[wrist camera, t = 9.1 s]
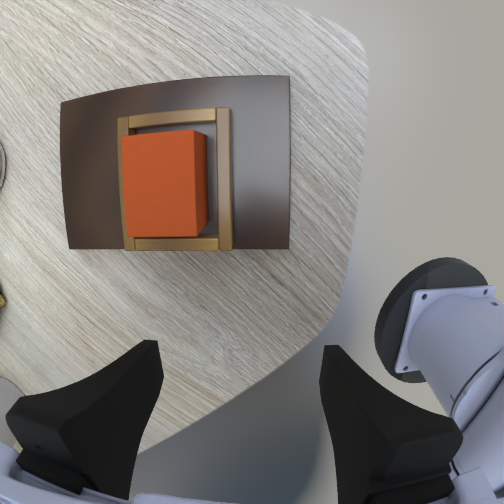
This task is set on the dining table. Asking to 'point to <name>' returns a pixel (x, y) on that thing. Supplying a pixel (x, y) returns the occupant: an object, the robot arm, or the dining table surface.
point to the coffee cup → (7, 408)
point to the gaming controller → (1, 300)
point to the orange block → (165, 183)
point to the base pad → (218, 160)
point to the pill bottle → (2, 165)
